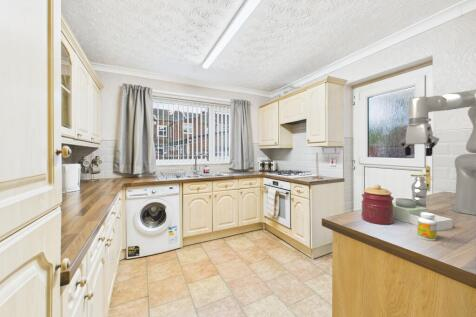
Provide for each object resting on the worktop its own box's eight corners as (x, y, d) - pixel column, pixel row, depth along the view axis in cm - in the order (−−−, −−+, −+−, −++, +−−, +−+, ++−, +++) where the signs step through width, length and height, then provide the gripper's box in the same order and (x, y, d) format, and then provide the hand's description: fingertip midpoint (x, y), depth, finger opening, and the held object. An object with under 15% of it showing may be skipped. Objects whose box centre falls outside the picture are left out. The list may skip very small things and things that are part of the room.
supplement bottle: (413, 235, 84) (414, 211, 84) (426, 234, 85) (427, 211, 84) (427, 241, 79) (428, 216, 78) (440, 240, 79) (441, 215, 79)
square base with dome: (402, 213, 112) (402, 196, 112) (453, 228, 91) (454, 208, 91) (384, 215, 109) (385, 198, 109) (433, 231, 88) (434, 210, 88)
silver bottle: (430, 216, 106) (431, 177, 105) (415, 216, 107) (416, 177, 106) (421, 212, 112) (423, 176, 111) (407, 212, 114) (408, 175, 113)
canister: (375, 226, 94) (376, 187, 93) (355, 216, 107) (355, 182, 106) (400, 224, 96) (401, 186, 95) (377, 215, 109) (378, 181, 108)
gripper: (444, 119, 98) (443, 155, 99) (405, 123, 115) (405, 154, 116) (432, 119, 96) (432, 156, 97) (395, 124, 113) (395, 155, 114)
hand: (417, 155), depth 106 cm, fingers open, 9 cm apart
